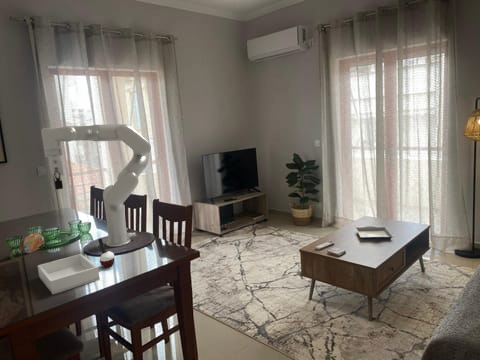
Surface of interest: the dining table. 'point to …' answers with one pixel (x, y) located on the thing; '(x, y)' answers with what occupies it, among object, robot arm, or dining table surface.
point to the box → (68, 273)
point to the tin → (32, 242)
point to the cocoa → (106, 256)
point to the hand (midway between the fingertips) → (59, 187)
